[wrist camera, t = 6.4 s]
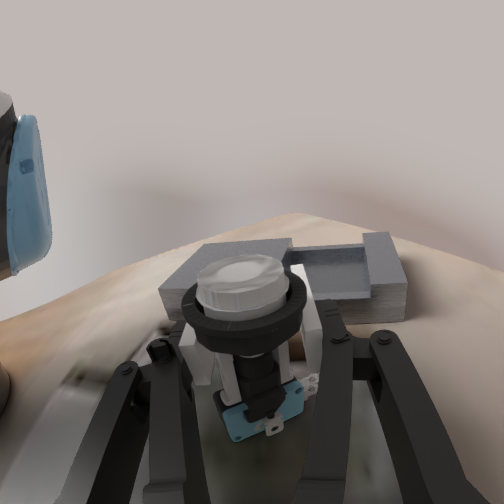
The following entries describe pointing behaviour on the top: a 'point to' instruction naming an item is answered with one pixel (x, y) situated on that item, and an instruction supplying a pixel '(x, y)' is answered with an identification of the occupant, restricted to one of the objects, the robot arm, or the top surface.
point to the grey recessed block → (316, 275)
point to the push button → (251, 340)
